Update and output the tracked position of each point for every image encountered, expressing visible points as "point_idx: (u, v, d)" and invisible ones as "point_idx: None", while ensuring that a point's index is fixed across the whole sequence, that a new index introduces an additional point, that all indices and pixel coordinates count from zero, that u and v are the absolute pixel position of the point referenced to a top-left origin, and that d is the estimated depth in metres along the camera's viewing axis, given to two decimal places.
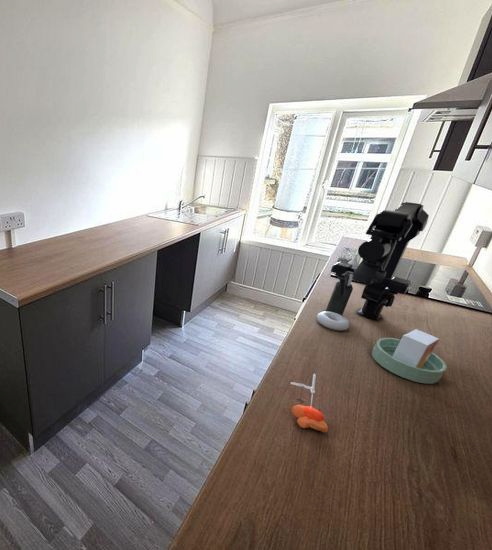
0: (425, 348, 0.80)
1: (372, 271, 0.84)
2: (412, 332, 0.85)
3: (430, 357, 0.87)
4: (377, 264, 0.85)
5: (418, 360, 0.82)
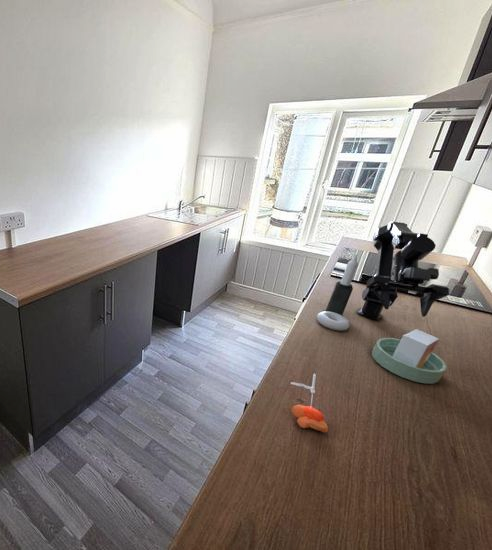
0: (425, 348, 0.80)
1: None
2: (412, 332, 0.85)
3: (430, 357, 0.87)
4: None
5: (418, 360, 0.82)
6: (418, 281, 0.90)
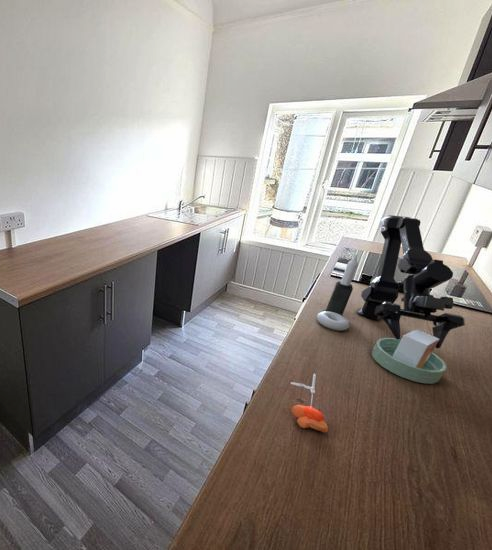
0: (425, 348, 0.80)
1: None
2: (412, 332, 0.85)
3: (430, 357, 0.87)
4: (429, 297, 0.86)
5: (418, 360, 0.82)
6: (431, 310, 0.85)
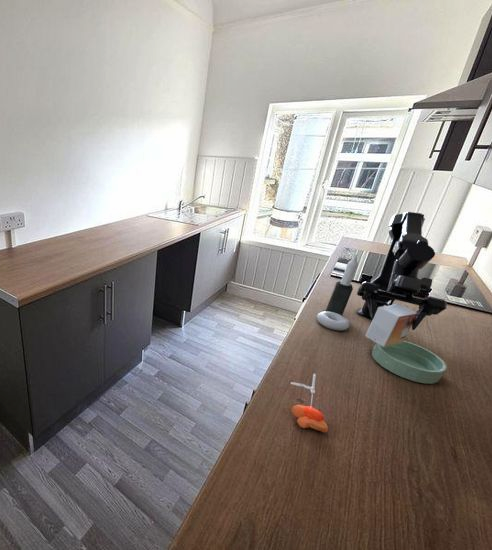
0: (396, 319, 0.81)
1: None
2: (390, 306, 0.86)
3: (430, 357, 0.87)
4: None
5: (390, 331, 0.83)
6: (411, 291, 0.83)
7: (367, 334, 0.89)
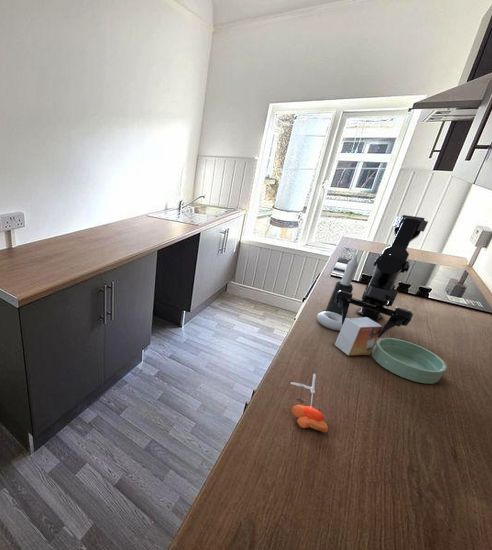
0: (358, 330, 0.87)
1: None
2: (358, 318, 0.92)
3: (430, 357, 0.87)
4: None
5: (353, 341, 0.89)
6: (381, 302, 0.89)
7: (336, 343, 0.95)
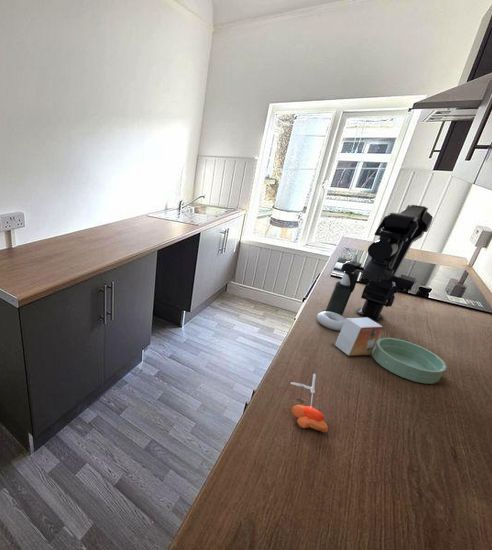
0: (359, 330, 0.87)
1: (380, 269, 0.91)
2: (359, 318, 0.92)
3: (430, 357, 0.87)
4: (385, 263, 0.92)
5: (354, 341, 0.89)
6: None
7: (336, 343, 0.95)
